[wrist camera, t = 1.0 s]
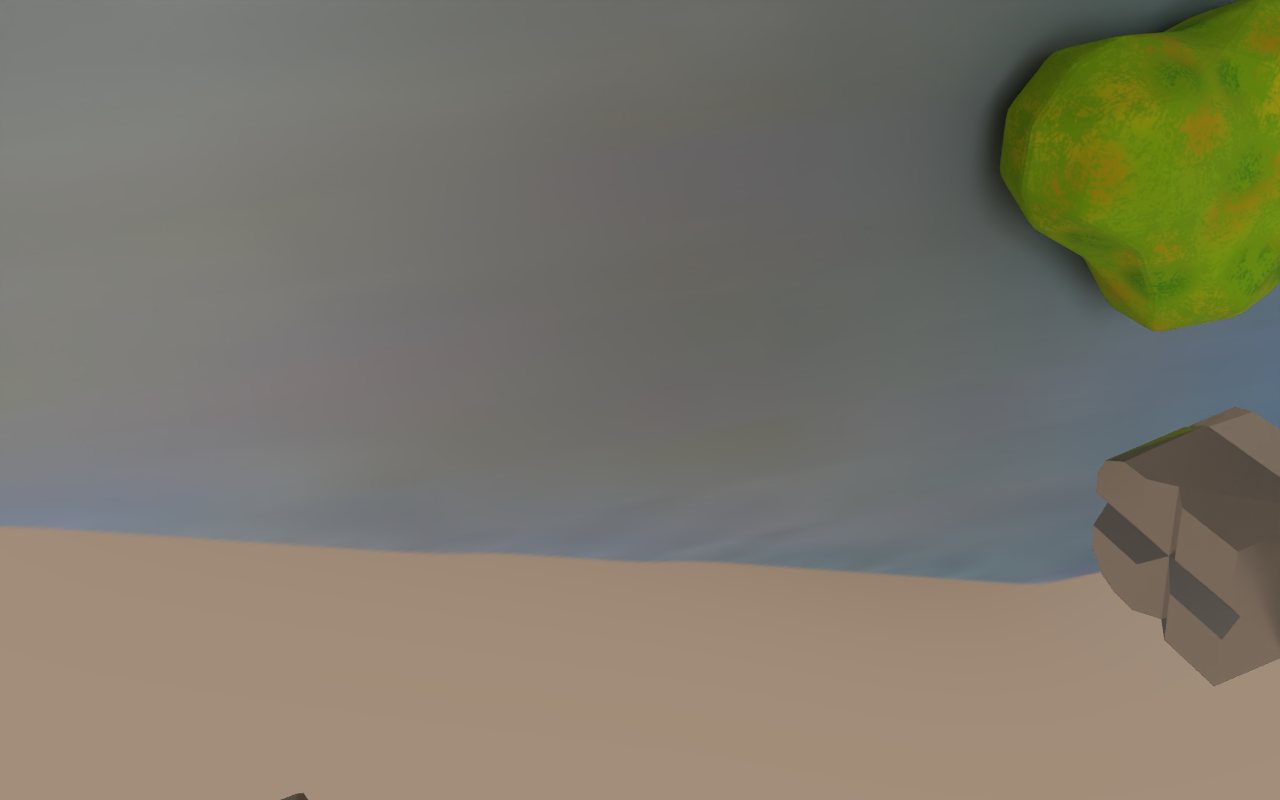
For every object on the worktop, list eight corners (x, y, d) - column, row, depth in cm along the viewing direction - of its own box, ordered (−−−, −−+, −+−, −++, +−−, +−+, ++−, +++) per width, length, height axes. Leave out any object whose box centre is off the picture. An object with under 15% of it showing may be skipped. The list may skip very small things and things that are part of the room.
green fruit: (1405, 388, 65) (1022, 343, 51) (1262, 309, 73) (899, 252, 59) (1603, 87, 57) (1213, -59, 44) (1417, 36, 65) (1042, -99, 52)
